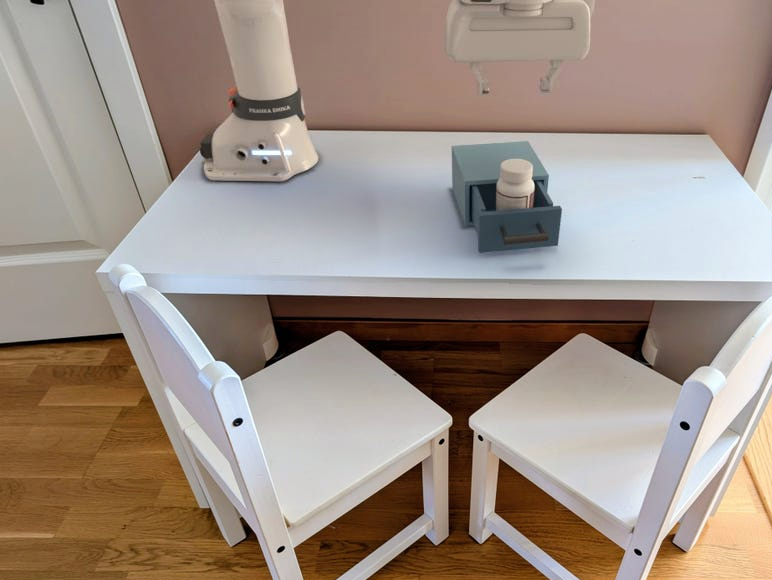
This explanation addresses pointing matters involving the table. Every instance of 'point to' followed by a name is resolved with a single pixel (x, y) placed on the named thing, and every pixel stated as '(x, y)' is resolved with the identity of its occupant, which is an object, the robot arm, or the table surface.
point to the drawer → (513, 220)
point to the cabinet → (487, 168)
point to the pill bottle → (515, 185)
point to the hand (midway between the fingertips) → (514, 92)
